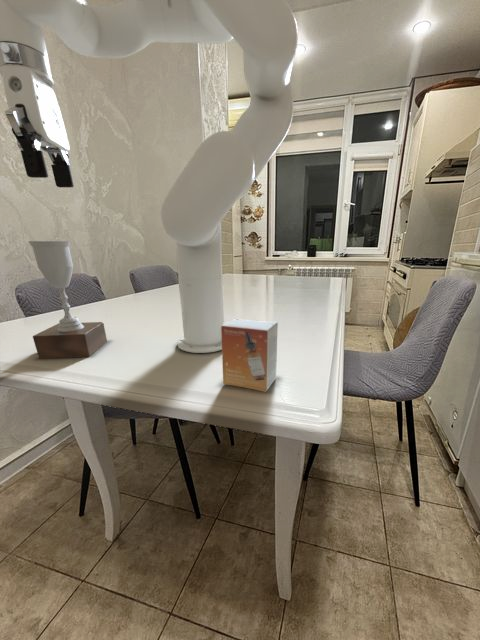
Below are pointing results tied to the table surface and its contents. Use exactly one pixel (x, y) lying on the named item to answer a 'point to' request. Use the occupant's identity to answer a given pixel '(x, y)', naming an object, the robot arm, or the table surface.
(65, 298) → the chalice
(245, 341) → the small box
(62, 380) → the table surface
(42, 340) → the walnut block
